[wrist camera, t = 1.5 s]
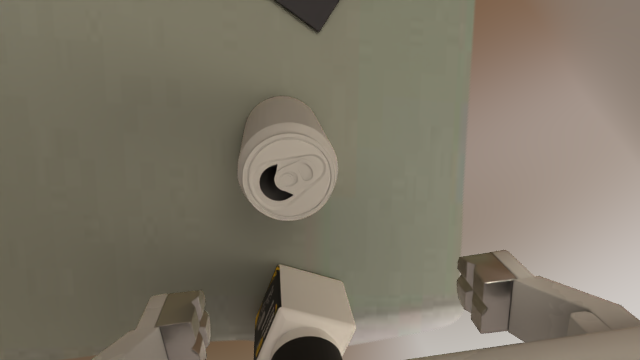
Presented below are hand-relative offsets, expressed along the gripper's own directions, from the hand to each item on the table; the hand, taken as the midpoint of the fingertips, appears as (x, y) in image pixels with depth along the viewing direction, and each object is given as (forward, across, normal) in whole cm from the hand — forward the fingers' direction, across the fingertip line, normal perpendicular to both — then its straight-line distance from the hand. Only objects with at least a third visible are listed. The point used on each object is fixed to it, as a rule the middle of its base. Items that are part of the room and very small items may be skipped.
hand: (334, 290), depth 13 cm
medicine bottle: (+25, +2, +18) cm, 31 cm away
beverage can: (+25, +1, +1) cm, 25 cm away
